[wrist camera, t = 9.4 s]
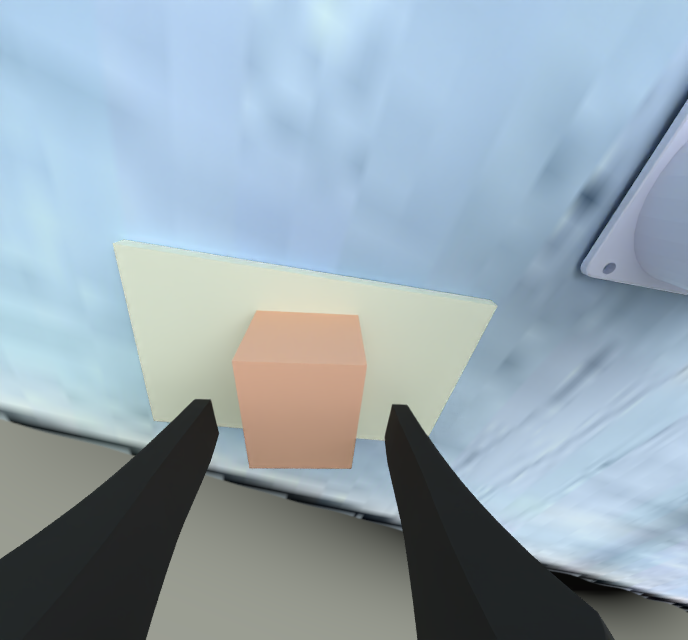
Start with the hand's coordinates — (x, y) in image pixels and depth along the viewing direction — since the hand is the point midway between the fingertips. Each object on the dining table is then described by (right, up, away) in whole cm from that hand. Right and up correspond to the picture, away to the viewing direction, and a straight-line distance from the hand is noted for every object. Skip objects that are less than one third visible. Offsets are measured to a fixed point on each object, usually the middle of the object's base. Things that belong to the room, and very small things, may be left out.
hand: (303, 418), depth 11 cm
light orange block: (0, +2, +3) cm, 3 cm away
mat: (0, +2, +3) cm, 4 cm away
